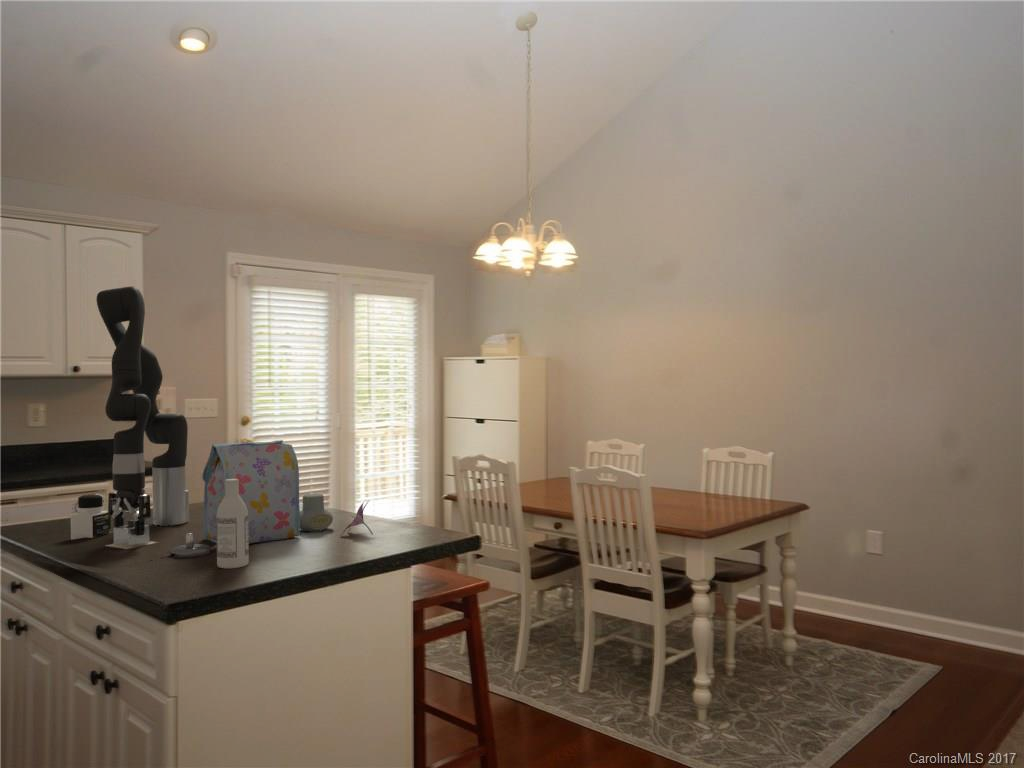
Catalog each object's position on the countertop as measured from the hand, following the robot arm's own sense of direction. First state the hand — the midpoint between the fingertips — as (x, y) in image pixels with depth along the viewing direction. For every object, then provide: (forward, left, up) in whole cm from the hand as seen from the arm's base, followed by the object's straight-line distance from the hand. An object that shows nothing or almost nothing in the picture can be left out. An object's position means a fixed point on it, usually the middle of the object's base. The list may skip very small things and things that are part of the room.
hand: (129, 533), depth 207 cm
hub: (-3, +20, -4) cm, 21 cm away
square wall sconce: (-1, 0, -3) cm, 3 cm away
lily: (-41, +41, -4) cm, 58 cm away
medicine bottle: (-4, -22, -4) cm, 22 cm away
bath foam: (+1, +40, -4) cm, 40 cm away
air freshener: (-41, +25, -4) cm, 48 cm away
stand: (-1, 0, -4) cm, 4 cm away
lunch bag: (-23, +20, -4) cm, 30 cm away
